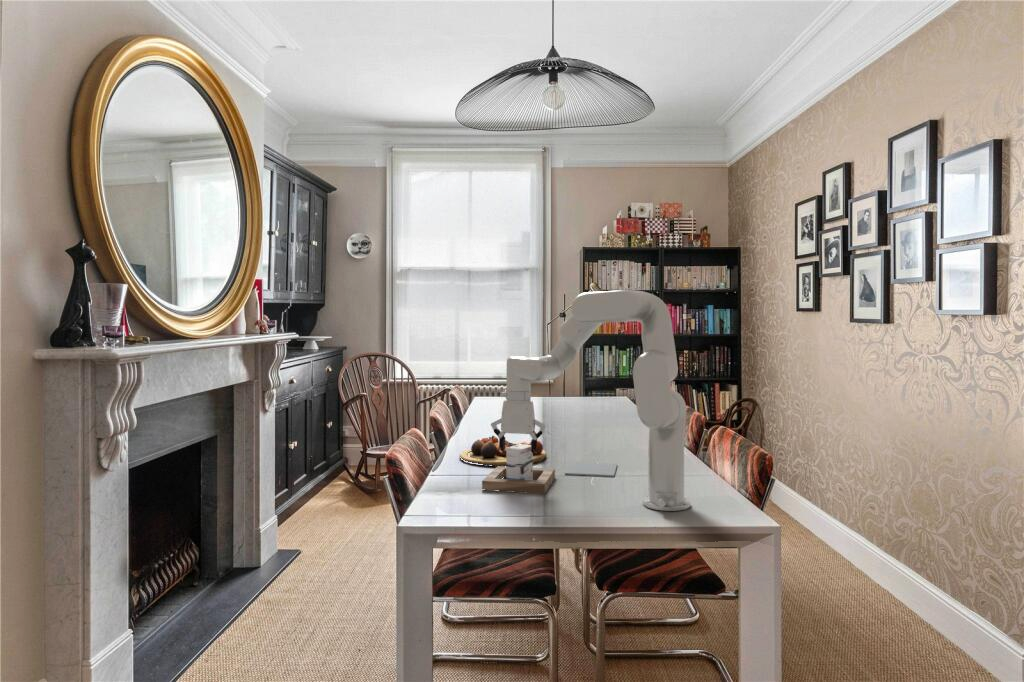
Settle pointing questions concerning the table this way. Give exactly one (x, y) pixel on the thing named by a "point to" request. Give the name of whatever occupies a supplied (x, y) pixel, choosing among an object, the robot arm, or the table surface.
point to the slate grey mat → (591, 469)
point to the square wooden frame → (519, 481)
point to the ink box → (519, 462)
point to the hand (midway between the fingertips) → (518, 451)
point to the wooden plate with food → (495, 452)
